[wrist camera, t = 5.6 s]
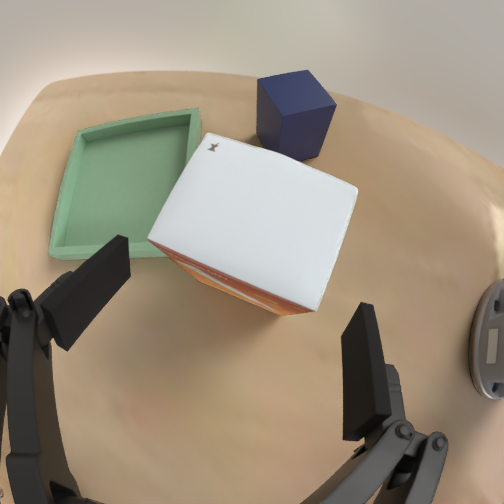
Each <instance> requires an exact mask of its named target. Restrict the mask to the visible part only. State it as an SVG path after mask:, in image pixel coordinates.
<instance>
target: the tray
mask: <svg viewBox="0 0 504 504" xmlns="http://www.w3.org/2000/svg"><path fill="white" fill-rule="evenodd" d="M201 127H202V119H201V115H200V110H199V108H195V109H186V110H178V111H170V112H163V113H157V114H151V115H145V116H139V117H134V118H129V119H124V120H119V121H114V122H110V123H106V124H101V125H97V126H93V127H89V128H86V129H83V130H79V131H78V132H77V134H76V137H75V140H74V143H73V146H72V149H71V152H70V155H69V159H68V162H67V165H66V169H65V172H64V176H63V180H62V184H61V188H60V192H59V196H58V200H57V205H56V210H55V215H54V220H53V225H52V231H51V237H50V244H49V251H48V255H49V256H52V257H54V258H56V259H59V260H81V259H89V258H90V257H91V256H92V255H94V254H95V253H96V252H97V251H98V250H99V249H101V248H102V247H103V246H104V245H105V244H107V243H108V242H109V241H110V240H111V239H113V238H114V237H115V236H116V235H122V236H125V237H128V240H129V258H144V257H168V256H167V255H166V254H164V253H163V252H162V251H161V250H159V249H158V248H157V247H156V246H154V245H153V244H152V243H150V242H149V241H148V239H147V237H148V235H149V233H150V231H151V229H152V227H153V225H154V223H155V221H156V219H157V217H158V215H159V213H160V212H161V210H162V208H163V206H164V204H165V202H166V201H167V199H168V197H169V195H170V193H171V191H172V190H173V188H174V186H175V184H176V182H177V181H178V179H179V177H180V175H181V174H182V172H183V170H184V169H185V167H186V165H187V164H188V162H189V160H190V159H191V157H192V156H193V154H194V152H195V151H196V149H197V148H198V146H199V144H200V139H201Z"/></svg>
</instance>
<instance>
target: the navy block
mask: <svg viewBox="0 0 504 504" xmlns="http://www.w3.org/2000/svg"><path fill="white" fill-rule="evenodd" d="M336 106H337V104H336V103H335V102H334V100H333V99H332V98H331V97H330V95H329V94H328V93H327V92H326V90H325V89H324V88H323V87H322V86H321V84H320V83H319V82H318V81H317V80H316V78H315V77H314V76H313V75H312V74H311V73H310V72H309V71H308V70H304V71H297V72H291V73H286V74H280V75H275V76H270V77H265V78H260V79H257V126H256V134H257V136H258V137H259V139H260V141H261V143H262V145H263V147H264V148H265V149H267V150H270V151H274V152H277V153H280V154H282V155H285V156H287V157H290V158H292V159H294V160H296V161H298V162H299V161H302V160H306V159H309V158H312V157H316V156H318V155H319V153H320V150H321V147H322V145H323V142H324V139H325V136H326V134H327V131H328V128H329V125H330V122H331V120H332V117H333V114H334V111H335V108H336Z"/></svg>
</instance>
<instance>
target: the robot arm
mask: <svg viewBox="0 0 504 504" xmlns="http://www.w3.org/2000/svg"><path fill="white" fill-rule="evenodd" d="M130 277H131V273H130V259H129V240H128V237H125V236H122V235H116V236H115V237H114V238H113V239H111V240H110V241H109V242H108V243H107V244H105V245H104V246H103V247H102V248H101V249H99V250H98V251H97V252H96V253H95V254H94V255H92V256H91V257H90V258H89V259H88V260H87V261H85V262H84V263H83V264H82V265H81V266H80V267H79V268H78V269H76V270H75V271H74V272H72V271H69V272H67V273H65V274H63V275H61V276H60V277H59V278H58V279H57V280H56V281H55V282H53V283H52V284H51V285H50V287H48V288H47V289H46V290H45V291H44V292H43V293H42V294H41V295H40V296H39V297H38V298H37V299H36V300H35V301H34V302H33V300H32V297H31V295H30V293H29V291H28V290H26V289H18V290H15V291H14V292H12V293H11V294H10V295H9V297H8V299H7V300H8V302H9V305H10V306H9V305H7V304H6V301H5V299H4V298H3V297H1V296H0V460H1V444H2V433H3V425H4V417H5V411H6V404H7V416H8V429H9V439H10V447H11V452H10V454H8V455H7V457H6V468H7V473H8V478H9V482H10V487H11V491H12V495H13V499H14V502H15V504H104V503H101V502H97V501H94V500H91V499H88V498H86V499H85V498H82V497H81V494H80V491H79V488H78V485H77V483H76V481H75V479H74V477H73V476H72V474H71V473H70V470H69V468H68V464H67V460H66V456H65V452H64V448H63V443H62V439H61V434H60V428H59V423H58V417H57V410H56V402H55V394H54V384H53V371H52V349H51V342H50V341H51V339H52V338H54V340H55V342H56V344H57V345H58V346H59V347H61V348H63V349H64V350H66V351H67V352H68V350H69V349H70V348H71V346H72V345H73V344H74V343H75V341H76V340H77V339H78V338H79V336H80V335H81V334H82V333H83V331H84V330H85V329H86V328H87V326H88V325H89V324H90V323H91V322H92V320H93V319H94V318H95V317H96V316H97V314H98V313H99V312H100V311H101V310H102V308H103V307H104V306H105V305H106V304H107V303H108V301H109V300H110V299H111V298H112V297H113V296H114V294H115V293H116V292H117V291H118V290H119V289H120V288H121V287H122V285H123V284H124V283H125V282H126V281H127V280H128V279H129V278H130ZM341 345H342V367H343V440H346V441H359V440H360V439H362V438H363V437H365V443H364V444H363V445H361V446H360V447H358V448H357V449H355V450H354V452H355V453H354V454H353V455H352V456H351V457H350V459H349V460H348V461H347V462H346V463H345V464H344V465H343V466H342V467H341V468H340V469H339V470H338V471H337V472H336V473H335V474H334V475H332V476H331V477H330V478H329V479H328V480H327V481H326V482H325V483H324V484H323V485H322V486H321V487H319V488H318V489H317V490H316V491H315V492H314V493H312V494H311V495H310V496H309V497H308V498H307V499H305V500H304V501H303V502H302V503H300V504H365V503H366V502H367V501H368V500H369V499H370V498H371V496H372V495H373V494H374V493H375V492H376V491H377V489H378V488H379V487H380V486H381V484H382V483H383V482H384V483H383V485H382V487H381V489H380V491H379V493H378V495H377V497H376V499H375V501H374V503H373V504H431V503H432V500H433V497H434V495H435V492H436V489H437V486H438V483H439V480H440V476H441V473H442V470H443V466H444V463H445V459H446V455H447V451H448V440H447V438H446V436H445V435H444V434H442V433H441V432H433V433H432V434H431V435H429V436H427V435H424V434H421V433H419V432H416V431H415V430H414V427H413V425H412V424H411V423H410V422H409V421H407V420H406V418H405V411H404V404H403V398H402V392H401V385H400V380H399V374H398V372H397V370H396V369H395V367H394V365H390V364H385V361H384V355H383V350H382V344H381V339H380V334H379V329H378V324H377V320H376V315H375V311H374V306H373V305H371V304H367V303H363V302H360V304H359V306H358V308H357V310H356V311H355V313H354V315H353V317H352V319H351V320H350V322H349V324H348V326H347V327H346V329H345V331H344V332H343V334H342V336H341ZM469 364H470V372H471V377H472V381H473V383H474V386H475V388H476V389H477V391H478V392H479V393H480V394H481V395H482V396H484V397H487V398H492V399H504V279H502V280H498V281H496V282H495V283H493V284H492V285H491V286H490V287H489V288H488V289H487V290H486V292H485V293H484V295H483V297H482V299H481V301H480V303H479V305H478V308H477V311H476V314H475V317H474V321H473V325H472V330H471V336H470V346H469ZM3 495H4V494H3V490H2V488H1V487H0V498H2V497H3ZM0 504H1V503H0Z"/></svg>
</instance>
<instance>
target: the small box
mask: <svg viewBox="0 0 504 504" xmlns="http://www.w3.org/2000/svg"><path fill="white" fill-rule="evenodd" d="M357 195H358V189H357V188H356V187H355V186H353V185H351V184H349V183H347V182H345V181H343V180H340V179H338V178H336V177H334V176H331V175H329V174H327V173H325V172H322V171H320V170H317V169H315V168H312V167H310V166H308V165H305V164H303V163H301V162H298V161H296V160H294V159H292V158H290V157H287V156H285V155H282V154H280V153H277V152H274V151H270V150H267V149H264V148H260V147H256V146H252V145H249V144H246V143H243V142H239V141H236V140H233V139H230V138H226V137H223V136H219V135H216V134H212V133H206V134H205V136H204V138H203V139H202V141H201V143H200V144H199V146H198V148H197V149H196V151H195V152H194V154H193V156H192V157H191V159H190V160H189V162H188V164H187V165H186V167H185V169H184V170H183V172H182V174H181V175H180V177H179V179H178V181H177V182H176V184H175V186H174V188H173V190H172V191H171V193H170V195H169V197H168V199H167V201H166V202H165V204H164V206H163V208H162V210H161V212H160V213H159V215H158V217H157V219H156V221H155V223H154V225H153V227H152V229H151V231H150V233H149V235H148V237H147V239H148V241H149V242H150V243H152V244H153V245H154V246H156V247H157V248H158V249H159V250H161V251H162V252H163V253H164V254H166V255H167V256H168V257H169V258H170V259H172V260H173V261H174V262H175V263H177V264H178V265H179V266H180V267H181V268H183V269H184V270H185V271H187V272H188V273H189V274H190V275H192V276H193V277H194V278H195V279H196V280H198V281H199V282H202V283H204V284H207V285H210V286H212V287H214V288H217V289H219V290H222V291H224V292H226V293H228V294H231V295H233V296H235V297H238V298H240V299H243V300H245V301H247V302H250V303H252V304H254V305H257V306H259V307H261V308H264V309H266V310H268V311H271V312H273V313H275V314H277V315H280V316H285V315H293V314H300V313H308V312H315V311H316V310H317V309H318V307H319V304H320V302H321V299H322V296H323V294H324V291H325V289H326V286H327V283H328V281H329V278H330V275H331V273H332V270H333V267H334V265H335V262H336V259H337V256H338V253H339V250H340V248H341V245H342V242H343V239H344V236H345V233H346V230H347V227H348V224H349V221H350V218H351V214H352V211H353V208H354V205H355V202H356V198H357Z"/></svg>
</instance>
